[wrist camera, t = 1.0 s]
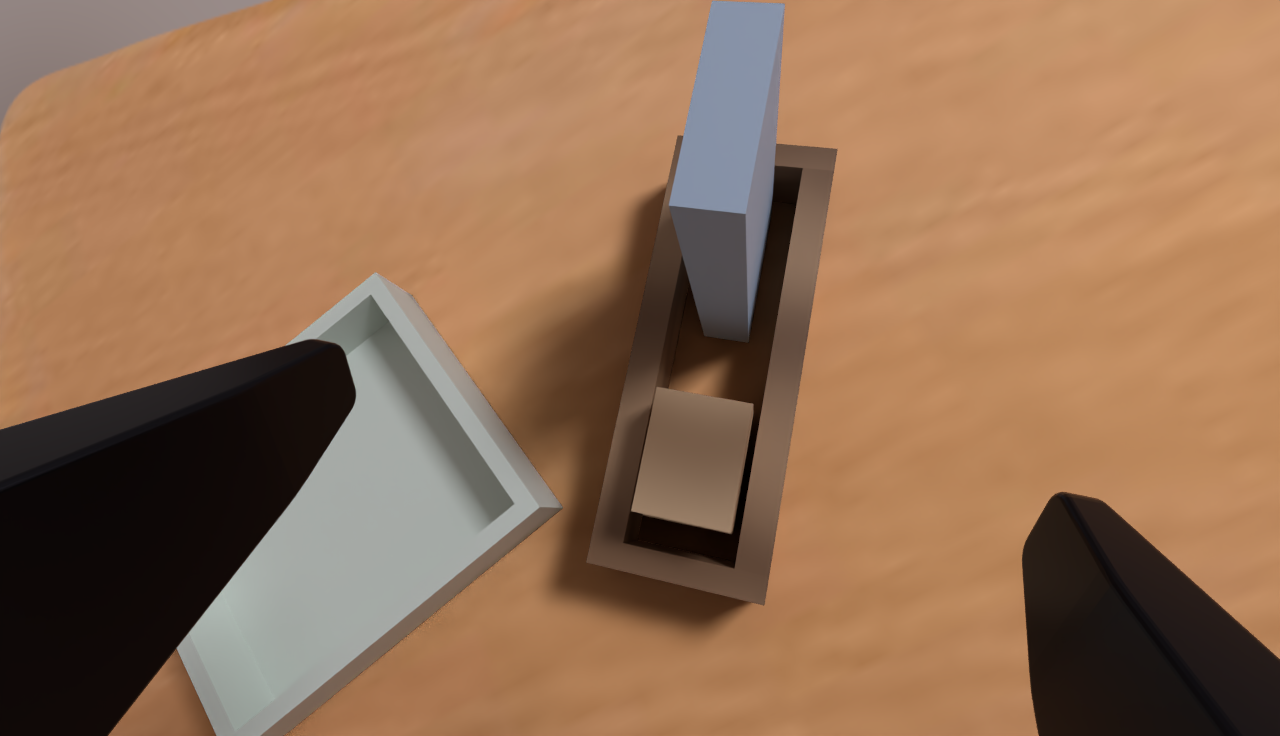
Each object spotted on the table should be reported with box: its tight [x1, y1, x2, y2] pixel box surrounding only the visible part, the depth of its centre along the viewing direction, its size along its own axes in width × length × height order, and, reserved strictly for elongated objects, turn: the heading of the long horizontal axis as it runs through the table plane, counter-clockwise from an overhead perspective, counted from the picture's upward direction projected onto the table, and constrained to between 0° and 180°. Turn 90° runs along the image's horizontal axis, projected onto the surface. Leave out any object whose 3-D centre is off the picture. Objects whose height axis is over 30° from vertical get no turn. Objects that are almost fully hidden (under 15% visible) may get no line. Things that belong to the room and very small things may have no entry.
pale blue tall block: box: [669, 1, 785, 343], centre depth 18 cm, size 5×2×10 cm, turn 168°
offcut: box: [631, 387, 753, 533], centre depth 19 cm, size 4×3×2 cm
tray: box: [177, 272, 563, 736], centre depth 22 cm, size 13×11×2 cm
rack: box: [586, 136, 837, 605], centre depth 21 cm, size 15×5×2 cm, turn 168°
